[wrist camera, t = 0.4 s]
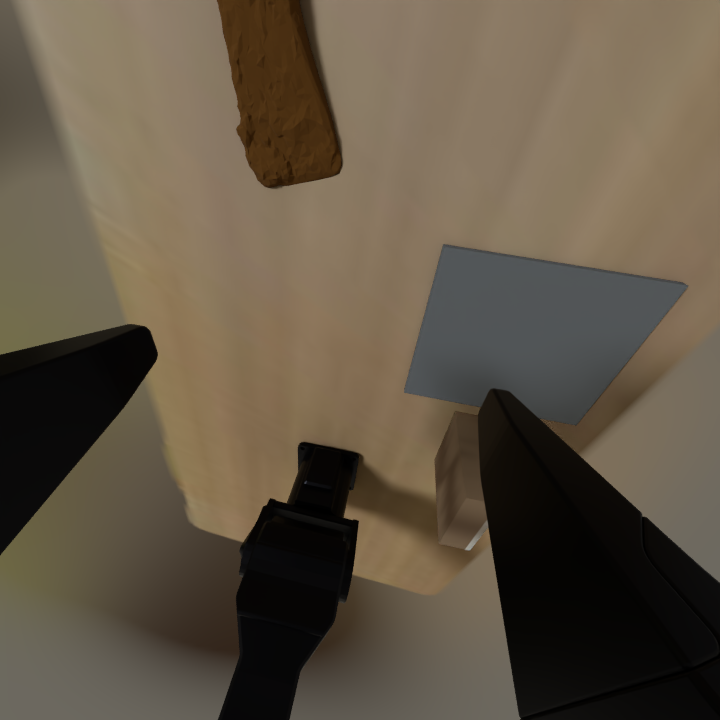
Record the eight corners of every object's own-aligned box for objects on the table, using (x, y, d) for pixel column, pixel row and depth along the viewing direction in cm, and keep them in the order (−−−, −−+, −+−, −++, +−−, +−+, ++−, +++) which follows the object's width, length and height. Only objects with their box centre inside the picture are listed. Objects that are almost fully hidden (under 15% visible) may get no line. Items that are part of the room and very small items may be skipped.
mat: (573, 420, 25) (576, 425, 25) (404, 388, 26) (404, 392, 26) (682, 282, 18) (688, 285, 17) (443, 244, 19) (443, 246, 18)
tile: (459, 464, 31) (469, 550, 24) (434, 459, 31) (438, 543, 24) (484, 416, 26) (504, 505, 20) (455, 411, 27) (466, 498, 20)
